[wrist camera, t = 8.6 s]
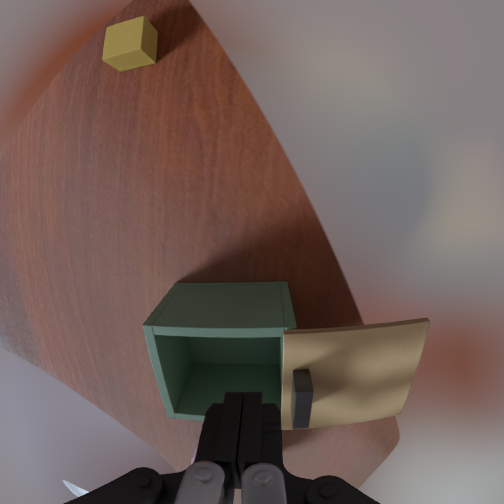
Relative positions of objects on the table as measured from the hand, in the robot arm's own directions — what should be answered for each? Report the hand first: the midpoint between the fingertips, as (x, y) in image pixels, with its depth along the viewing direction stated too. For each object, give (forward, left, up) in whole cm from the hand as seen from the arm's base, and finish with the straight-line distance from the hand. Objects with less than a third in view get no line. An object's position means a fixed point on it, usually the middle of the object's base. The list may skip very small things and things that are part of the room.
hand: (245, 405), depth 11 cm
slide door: (-1, +9, -8) cm, 12 cm away
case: (+6, +2, -17) cm, 18 cm away
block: (-9, -24, -17) cm, 31 cm away
